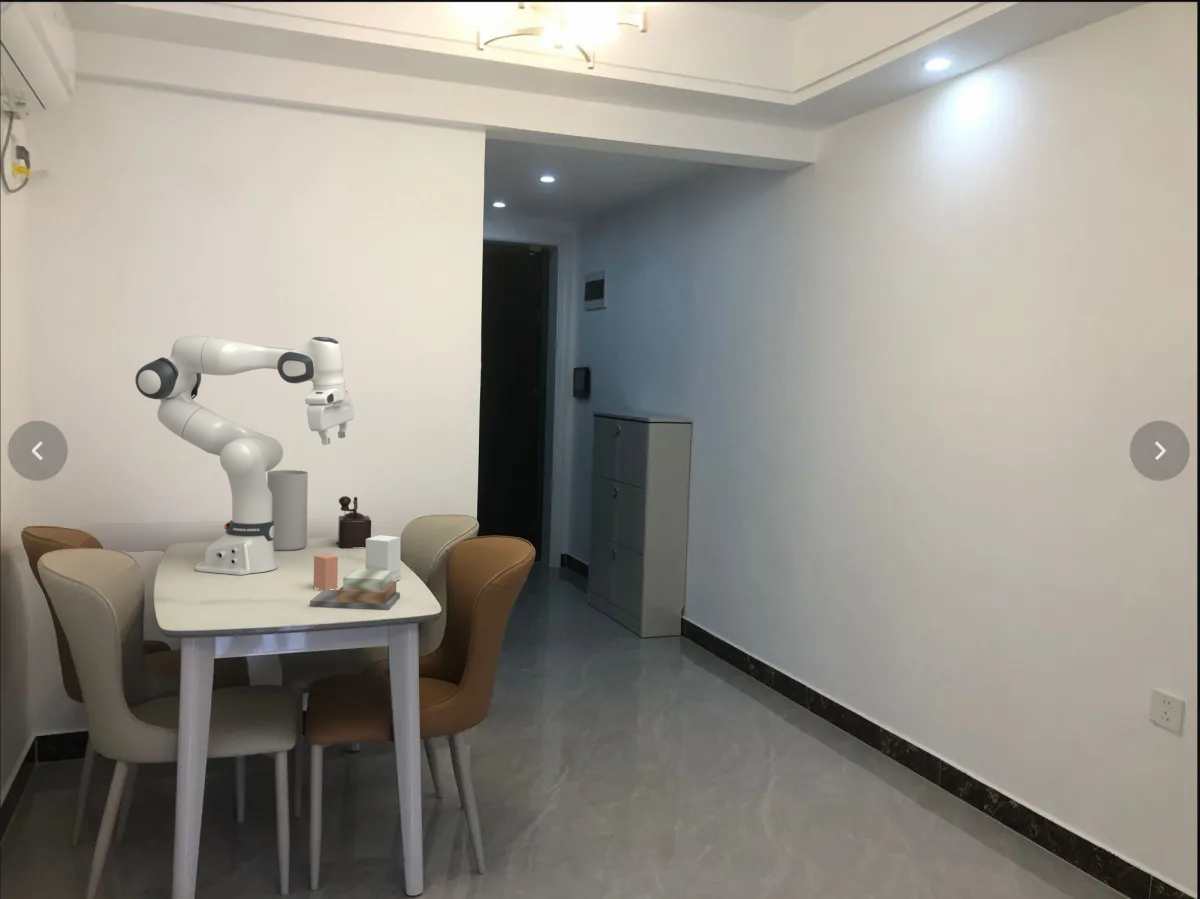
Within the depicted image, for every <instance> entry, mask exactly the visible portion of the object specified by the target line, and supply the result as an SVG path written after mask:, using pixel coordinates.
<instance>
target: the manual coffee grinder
mask: <svg viewBox="0 0 1200 899" xmlns="http://www.w3.org/2000/svg"><path fill="white" fill-rule="evenodd" d="M338 502H339V504H340V506H341V507H340V511H341V512H344V515H339V516H338V522H337V523H338V526H337V528H338V531H337V533H338V534H337V541H336V545H337V546H338V548H340V549H354V548H353V547H366V539H368V538H371V536H372V520H371V518H370V515H364V514H362V513H360V512H358V506H359V505H358V497H357V496H354V497H353V500H352V498H350V497H349V496H346V495H345V496H344V495H343V496H341V497H339V499H338ZM351 503H352V504H353V508H350V507H349V506H350V504H351ZM346 512H348V513H346Z"/></svg>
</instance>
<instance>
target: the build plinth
mask: <svg viewBox="0 0 1200 899" xmlns="http://www.w3.org/2000/svg"><path fill="white" fill-rule="evenodd" d="M398 599H399V600H400V599H401V592H398V591H397V581H392V571H384V570H366V569H360V568H359V569H357V568H356V569H353V570H352V571H350V572H349V573H348V574H346V575H345V576H343V578H342V586H341V587H340V588H339V589H334V590H327V589H325V590H323V591H322V590H321V592H320V593H318V594H317V595H316V596H315V597H313V598H312V599H310V600H309V607H311V608H312V607H313V608H314V607H315V608H332V609H333V608H335V609H336V608H337V609H338V608H339V609H355V610H356V609H357V610H358V609H361V610H383V611H384V610H385V611H389V610H391V608H393V606H394V605H395V604H396V603H397V602H398V601H399V600H398ZM397 600H398V601H397ZM396 601H397V602H396Z"/></svg>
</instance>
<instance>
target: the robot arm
mask: <svg viewBox="0 0 1200 899" xmlns="http://www.w3.org/2000/svg"><path fill="white" fill-rule="evenodd" d="M341 347H342V346H341V345H340V343H339V341H338V340H336V339H335V338H332V337H328V336H315V337H312V338H311V339H309V341H307V342H306V343H304V344H303V345H300V346H299V347H296V348H282V347H281V348H279V347H271V346H270V347H269V346H263V345H262V346H260V345H255V344H251V343H247V342H241V341H238V340H233V339H229V338H225V337H218V336H209V335H188V336H181V337H179V338H178V339H176V340H175V342H174V343H173V344H172V348H171V354H170V355H169V357H167V358H166V357H160V358H157V359H155V360H153V361H151V362H149V363H147V364H145V365H143V366H142V367H140V368H139V370H137V372H136V375H135V379H134V380H135V386H136V388H137V390H138V391H139V392H140V394H141V395H143V396H144V397H146V398H148V399H152V400H160V404H159V407H158V409H157V413H156V416H157V419H158V421H159V422H160V423H161V424H162V425H163V426H164V427H165V428H166V429H168V430H169V432H171V433H173V434H174V435H176V436H177V437H179V438H181V439H183V440H185V441H186V442H187V443H189V444H192V445H193V446H195V447H196V448H198V449H201V450H202V451H204V452H206V453H208V454H212V455H214V456H219V462H220V465H221V467H222V469H223V470H224V471H225V473H226V475H227V478H228V483H229V487H230V490H231V502H232V503H231V504H232V505H231V512H232V513H231V517H232V518H231V520H230V521H229V522H227V523H225V524H224V525H223V530H225V534H223V535H222V536H221V537H219V538H218V539H216V540H215V541H214V542H212V543H211V544H210V545H209V546H208V547H207V548H206V550H205V553H204V556H203V560H202V561H201V562H199V563H197V564H196V565H195V569H194V570H195V571H196V572H203V573H213V574H214V573H215V574H216V573H217V574H226V575H237V576H242V575H243V576H244V575H249V574H254V573H255V574H257V573H265V572H269V571H273V570H276V569H278V568H279V567H278V562H277V559H276V555H275V550H274V547H273V539H274V521H273V520H272V493H271V491H270V490H269V488H268V485H267V476H266V472H269V471H272V470H273V469H274V468H276V467H277V466H278V465H279V464H280V463H281V461H282V459H283V458H284V457H283V456H284V449H283V446H282V444H281V443H280V441H279V440H278V439H276V438H273V437H271V436H268V435H266V434H263V433H260V432H258V431H256V430H253V429H251V428H249V427H246V426H244V425H241V424H239V423H236V422H234V421H231V420H229V419H227V418H225V417H223V416H221V415H219V414H217V413H216V412H214V411H212V410H210V408H209V409H208V408H207V407H205V406H203V405H202V404H199V403H198V402H197V401H195V400H194V399H195V398H196V397H197V396H198V394H199V388H200V386H201V382H202V374H203V375H208V376H209V375H211V376H234V375H237V374H242V373H246V372H249V371H253V370H254V371H255V370H259V369H268V370H269V369H272V370H277V372H278V374H279V376H280V378H281V379H282V380H283V381H285V382H287V383H290V384H295V385H296V384H302V383H305V382H309V381H311V382H312V389H311V391H310V392H308V394H307V395H306V396H305V398H304V400H305V401H304V402H305V404H306V405H308V406H307V407H306V408H307V409H306V410H307V411H306V413H307V424H308V427H309V430H310V432H317V433H318V435H319V438H321V444H322V446H323V445H324V446H327V445H329V444H331V440H330V439H331V437H329V436H328V431H329V430H328V429H332V428H333V427H336V426H339V428H338V431H337V435H338V436H337V437H338V438H339V439H344V438H346V437H347V433H346V432H347V429H348V428H347V427H348V422H349V421H352V420H354V418H355V412H354V411H355V410H354V406H353V400H352V398H351V396H350V394H349V392H348V391H347V389H346V381H345V378H344V374H343V373H344V368H345V367H344V360H343V359H344V358H343V352H342V348H341Z"/></svg>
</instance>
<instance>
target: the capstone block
mask: <svg viewBox="0 0 1200 899" xmlns="http://www.w3.org/2000/svg"><path fill="white" fill-rule="evenodd" d="M338 557H339V556H338V555H337V556H336V555H333V554H330V553H324V554H317V555H313V588H314V587H316V588H319V589H322V590H325V589H327V590H330V589H334V590H336V589H335V588H337V589H338V576H339V575H338V570H339V569H338V568H339V567H338V564H339V562H338V560H339V558H338ZM322 590H321V591H322Z"/></svg>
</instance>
